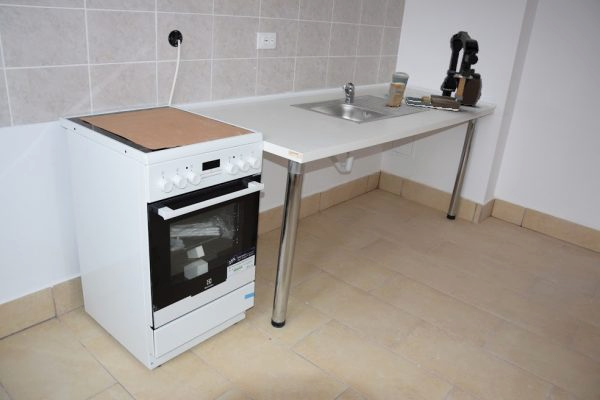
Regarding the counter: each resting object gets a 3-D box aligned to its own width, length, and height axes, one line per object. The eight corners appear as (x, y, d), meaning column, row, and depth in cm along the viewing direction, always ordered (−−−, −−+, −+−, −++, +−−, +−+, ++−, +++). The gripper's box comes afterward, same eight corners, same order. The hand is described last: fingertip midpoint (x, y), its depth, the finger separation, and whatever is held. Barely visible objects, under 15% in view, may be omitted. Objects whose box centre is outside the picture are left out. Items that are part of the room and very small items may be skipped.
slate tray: (405, 100, 305) (406, 96, 304) (431, 103, 304) (432, 99, 303) (407, 105, 292) (408, 101, 291) (434, 108, 292) (435, 104, 291)
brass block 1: (427, 102, 302) (420, 102, 302) (428, 96, 301) (422, 95, 301) (428, 104, 298) (421, 103, 299) (429, 97, 297) (422, 96, 297)
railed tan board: (429, 103, 305) (431, 94, 303) (453, 106, 304) (455, 97, 302) (432, 108, 291) (434, 99, 289) (458, 111, 291) (460, 102, 288)
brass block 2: (428, 105, 297) (422, 104, 297) (430, 98, 295) (423, 97, 295) (429, 106, 293) (422, 105, 293) (431, 99, 292) (424, 98, 292)
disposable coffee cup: (406, 99, 308) (411, 75, 302) (389, 97, 308) (393, 73, 302) (403, 96, 318) (408, 72, 312) (387, 94, 318) (391, 70, 312)
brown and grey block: (454, 96, 299) (458, 76, 295) (459, 96, 299) (463, 76, 294) (457, 99, 290) (461, 79, 285) (462, 100, 290) (466, 79, 285)
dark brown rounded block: (453, 104, 310) (461, 72, 302) (453, 101, 318) (460, 70, 310) (478, 108, 307) (486, 75, 299) (477, 105, 315) (485, 73, 307)
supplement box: (392, 107, 283) (396, 84, 278) (386, 105, 287) (390, 82, 281) (401, 106, 288) (405, 83, 283) (395, 104, 292) (399, 82, 286)
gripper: (452, 62, 280) (446, 89, 286) (485, 66, 278) (478, 93, 285) (449, 59, 290) (443, 86, 296) (481, 63, 288) (475, 90, 295)
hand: (460, 89), depth 293 cm, fingers closed on brown and grey block, 3 cm apart
